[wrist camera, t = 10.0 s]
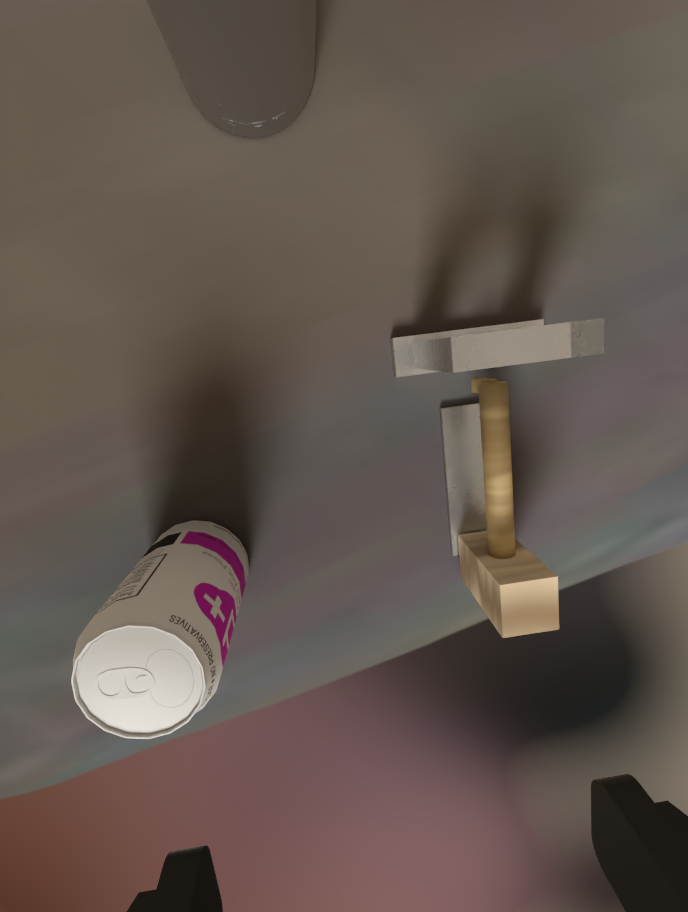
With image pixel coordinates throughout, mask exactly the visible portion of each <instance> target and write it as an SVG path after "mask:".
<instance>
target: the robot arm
mask: <svg viewBox="0 0 688 912" xmlns="http://www.w3.org/2000/svg"><path fill="white" fill-rule="evenodd" d="M146 1H147V3H148V5H149V7H150V9H151V12H152V14H153V16H154V18H155V20H156V23H157V25H158V27H159V29H160V32H161V34H162V36H163V38H164V40H165V43H166V45H167V47H168V49H169V51H170V54H171V56H172V59H173V61H174V63H175V65H176V67H177V70H178V72H179V74H180V76H181V78H182V81H183V83H184V85H185V87H186V89H187V91H188V93H189V95H190V97H191V99H192V100H193V102H194V104H195V105H196V107H197V108H198V109H199V110H200V112H201V113H202V114H203V115H204V116H205V117H206V118H207V119H208V120H209V121H210V122H212V123H213V124H214V125H216V126H217V127H218V128H220V129H222V130H224V131H226V132H228V133H230V134H233V135H237V136H241V137H248V138H259V137H264V136H268V135H272V134H274V133H276V132H278V131H280V130H282V129H284V128H286V127H287V126H288V125H289V124H290V123H292V122H293V121H294V120H295V119H296V118H297V116H298V115H299V114H300V113H301V111H302V110H303V109H304V107H305V105H306V103H307V101H308V98H309V96H310V94H311V90H312V86H313V82H314V70H315V39H316V8H317V0H146ZM591 831H592V832H591V834H592V842H593V846H594V850H595V853H596V856H597V859H598V862H599V864H600V866H601V868H602V870H603V873H604V874H605V876H606V878H607V880H608V882H609V883H610V885H611V887H612V888H613V890H614V892H615V894H616V896H617V897H618V899H619V901H620V903H621V904H622V906H623V908H624V910H625V911H626V912H688V816H687V815H685V814H684V813H683V812H682V811H680V810H679V809H678V808H676V807H675V806H674V805H672V804H671V803H670V802H668V801H664V802H658V803H654V802H653V800H652V799H651V798H650V796H649V795H648V794H647V793H646V791H645V790H644V789H643V788H642V786H641V785H640V784H639V783H638V781H637V780H636V779H635V778H634V777H633V776H631V775H629V774H625V775H619V776H613V777H608V778H601V779H596V780H593V781H592V783H591ZM127 912H223V908H222V900H221V895H220V891H219V887H218V883H217V878H216V874H215V870H214V866H213V862H212V857H211V853H210V849H209V847H208V846H200V847H195V848H189V849H184V850H177V851H172V852H169V854H168V855H167V857H166V859H165V862H164V865H163V868H162V872H161V875H160V879H159V883H158V886H157V889H156V890H151V891H145V892H140V893H138V895H137V896H136V898H135V900H134V901H133V903H132V904H131V906H130V908H129V909H128V911H127Z"/></svg>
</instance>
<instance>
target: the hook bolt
mask: <svg viewBox="0 0 688 912" xmlns="http://www.w3.org/2000/svg"><path fill="white" fill-rule="evenodd" d="M471 390H472V392H474V393H479V408H480V424H481V441H482V458H483V474H484V491H485V508H486V524H487V531H482V532H475V533H468V534H462V535H458V543H459V556H460V570H461V578H462V580H463V581H464V583H465V584H466V585H467V587H468V588H469V590H470V591H471V593H472V594H473V596H474V597H475V598H476V600H477V601H478V603H479V604H480V606H481V607H482V609H483V610H484V612H485V613H486V614H487V616H488V617H489V619H490V620H491V622H492V623H493V625H494V626H495V627H496V629H497V630H498V632H499V633H500V635H501V636H502V638H506V637H513V636H518V635H525V634H532V633H538V632H544V631H551V630H557V629H559V609H558V608H559V605H558V576H557V575H556V574H554V573H553V572H552V571H551V570H550V569H549V568H548V567H547V566H545V565H544V564H543V563H542V562H541V561H540V560H539V559H537V558H536V557H535V556H534V555H533V554H532V553H531V552H530V551H528V550H527V549H526V548H525V547H524V546H523V545H522V544H520V543H519V542H518V541H517V540H516V539H515V526H514V505H513V483H512V461H511V440H510V418H509V396H508V381H497V379H494V378H485V377H482V378H474V379H471Z"/></svg>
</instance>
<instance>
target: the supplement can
mask: <svg viewBox="0 0 688 912" xmlns="http://www.w3.org/2000/svg"><path fill="white" fill-rule="evenodd" d="M248 574H249V564H248V555H247V553H246V551H245V549H244V547H243V545H242V543H241V541H240V540H239V539H238V538H237V537H236V536H235V535H234V534H232V533H231V532H230V531H229V530H228V529H227V528H224V527H222V526H220V525H217V524H215V523H213V522H207V521H195V520H192V521H188V522H184V523H180V524H176V525H175V526H173V527H172V528H170V529H169V530H167V531H166V532H164V533H163V534H161V535H160V537H159V538H158V539H157V540H156V542H155V543H154V544H153V545H152V546H151V548H150V549H149V550H148V551H147V553H146V554H145V555H144V556H143V557H142V559H141V560H140V561H139V562H138V563H137V565H136V566H135V567H134V568H133V570H132V571H131V572H130V573H129V574H128V576H127V577H126V578H125V579H124V580H123V582H122V583H121V584H120V585H119V587H118V588H117V589H116V590H115V591H114V593H113V594H112V595H111V596H110V598H109V599H108V600H107V601H106V602H105V604H104V605H103V606H102V607H101V608H100V610H99V611H98V612H97V613H96V615H95V616H94V617H93V618H92V619H91V621H90V622H89V624H88V625H87V626H86V628H85V629H84V631H83V632H82V634H81V635H80V636H79V638H78V639H77V644H76V648H75V653H74V658H73V674H72V678H71V683H72V688H73V693H74V697H75V701H76V702H77V704H78V705H79V707H80V708H81V710H82V711H83V713H84V714H85V716H86V717H87V718H88V719H89V720H90V721H92V722H93V723H95V724H96V725H97V726H99V727H100V728H101V729H103V730H104V731H106V732H109V733H112V734H115V735H118V736H121V737H124V738H134V739H151V738H155V737H159V736H162V735H166V734H170V733H172V732H173V731H175V730H177V729H178V728H180V727H181V726H183V725H184V724H186V723H187V722H189V720H190V719H191V718H192V716H193V715H194V714H196V713H197V712H198V711H200V710H201V709H203V707H204V706H205V705H206V704H207V702H208V701H209V700H210V698H211V697H212V696H213V694H214V693H215V692H216V690H217V687H218V683H219V680H220V676H221V672H222V669H223V665H224V661H225V658H226V654H227V650H228V647H229V643H230V639H231V636H232V632H233V628H234V625H235V621H236V618H237V614H238V610H239V607H240V603H241V599H242V596H243V592H244V588H245V585H246V581H247V577H248Z"/></svg>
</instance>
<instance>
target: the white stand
mask: <svg viewBox="0 0 688 912" xmlns="http://www.w3.org/2000/svg"><path fill="white" fill-rule="evenodd" d="M391 350H392V360H393V370H394V377H402V376H409V375H417V374H425V373H433V372H440V371H442V372H451V373H456V372H463V371H471V370H479V369H486V368H494V367H502V366H509V365H517V364H525V363H533V362H540V361H548V360H556V359H563V358H571V357H579V356H587V355H594V354H602V353H604V318H599V319H591V320H583V321H575V322H567V323H559V324H551V325H544V319H541V320H533V321H525V322H517V323H509V324H501V325H493V326H485V327H477V328H469V329H461V330H453V331H445V332H437V333H429V334H421V335H413V336H405V337H397V338H391ZM440 418H441V431H442V444H443V457H444V469H445V482H446V495H447V508H448V520H449V533H450V546H451V554H452V556H457V555H459V543H458V535H462V534H468V533H475V532H482V531H487V524H486V508H485V491H484V474H483V458H482V441H481V424H480V408H479V403H473V404H465V405H458V406H450V407H443V408H440Z"/></svg>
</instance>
